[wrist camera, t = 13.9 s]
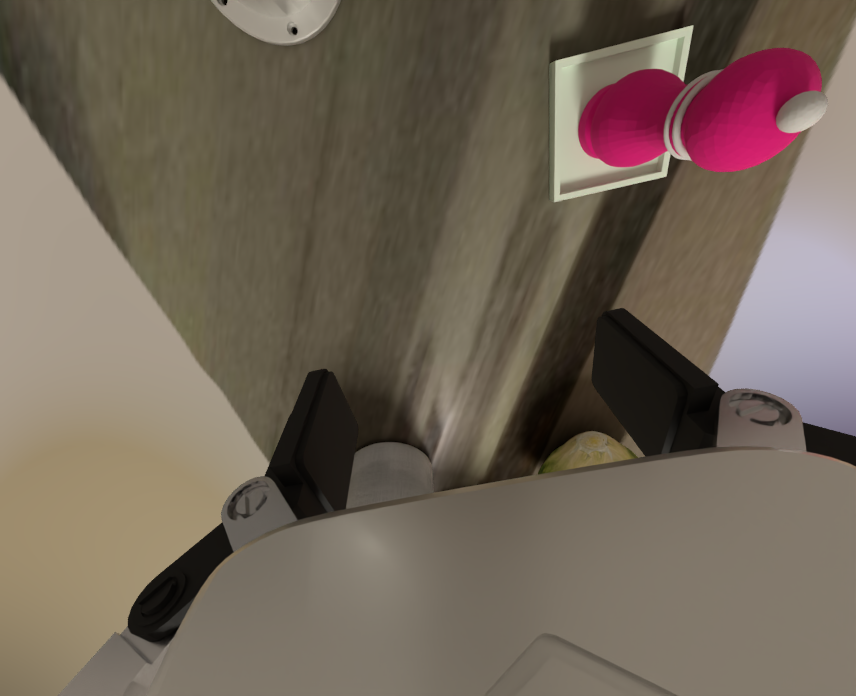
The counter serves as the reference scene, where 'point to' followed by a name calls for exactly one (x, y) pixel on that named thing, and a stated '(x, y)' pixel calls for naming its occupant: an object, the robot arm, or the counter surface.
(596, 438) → the lettuce
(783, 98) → the pepper mill
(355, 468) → the planter
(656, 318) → the counter surface
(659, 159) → the tray
